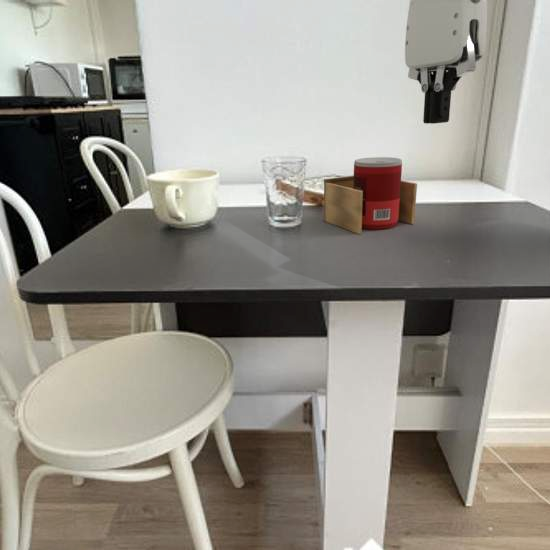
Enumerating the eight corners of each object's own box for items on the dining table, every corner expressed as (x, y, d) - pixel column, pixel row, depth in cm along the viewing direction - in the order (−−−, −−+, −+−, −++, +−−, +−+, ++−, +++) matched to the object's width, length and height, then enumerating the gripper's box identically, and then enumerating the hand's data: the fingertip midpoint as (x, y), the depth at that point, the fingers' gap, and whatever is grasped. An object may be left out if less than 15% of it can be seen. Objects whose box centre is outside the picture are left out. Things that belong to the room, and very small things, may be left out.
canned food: (406, 222, 77) (410, 158, 73) (382, 232, 72) (386, 164, 68) (368, 216, 82) (370, 156, 78) (343, 225, 77) (344, 161, 73)
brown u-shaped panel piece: (414, 223, 76) (417, 179, 73) (358, 234, 71) (360, 187, 69) (375, 212, 85) (377, 172, 82) (323, 220, 80) (323, 178, 78)
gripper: (522, -51, 49) (501, 121, 56) (425, -16, 62) (418, 120, 69) (475, -57, 46) (459, 125, 53) (383, -19, 59) (379, 124, 66)
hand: (436, 122), depth 61 cm, fingers closed
